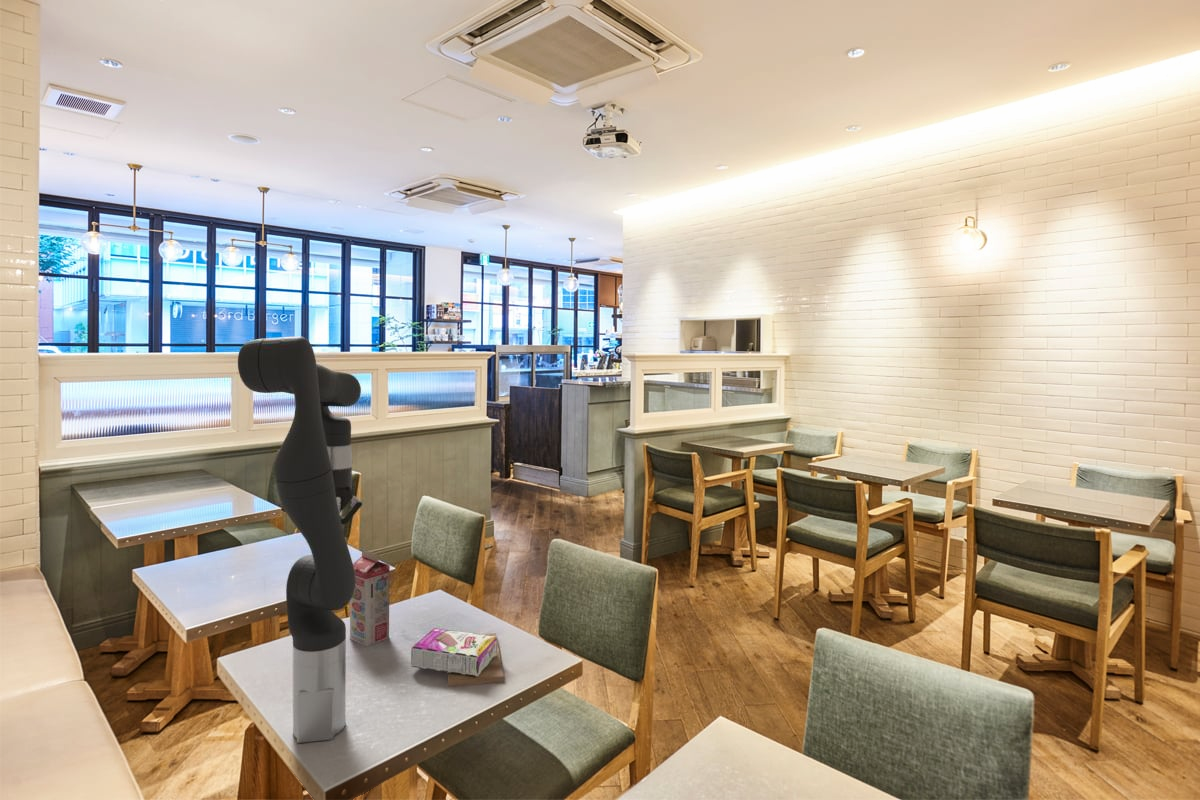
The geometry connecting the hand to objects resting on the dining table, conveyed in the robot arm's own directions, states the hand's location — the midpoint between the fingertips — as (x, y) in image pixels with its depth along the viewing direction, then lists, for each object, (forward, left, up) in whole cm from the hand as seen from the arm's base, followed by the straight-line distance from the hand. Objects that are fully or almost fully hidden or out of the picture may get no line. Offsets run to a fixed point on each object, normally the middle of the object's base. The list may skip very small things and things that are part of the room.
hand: (332, 542), depth 141 cm
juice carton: (+16, -6, -30) cm, 34 cm away
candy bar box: (+2, -19, -26) cm, 32 cm away
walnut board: (0, -31, -30) cm, 43 cm away
